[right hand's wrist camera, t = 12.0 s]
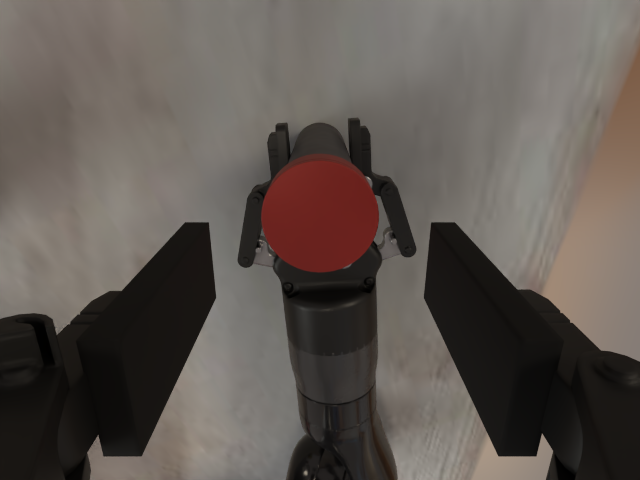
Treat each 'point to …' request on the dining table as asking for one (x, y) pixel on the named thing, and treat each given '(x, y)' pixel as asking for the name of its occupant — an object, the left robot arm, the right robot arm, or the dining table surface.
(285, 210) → the lid
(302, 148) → the dark grey cylinder
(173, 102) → the dining table surface
